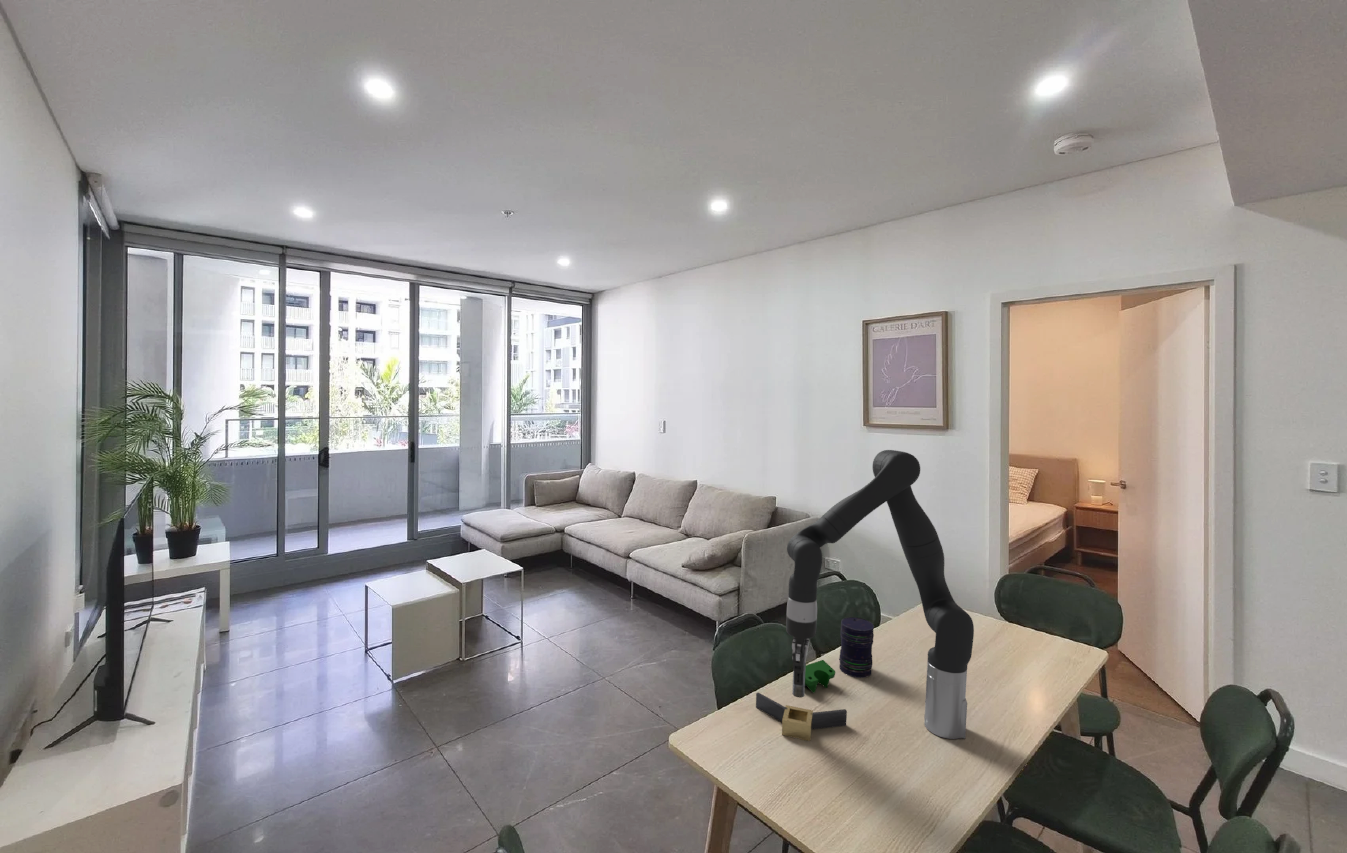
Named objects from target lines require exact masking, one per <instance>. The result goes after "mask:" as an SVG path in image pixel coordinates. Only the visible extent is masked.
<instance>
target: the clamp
mask: <svg viewBox="0 0 1347 853" xmlns="http://www.w3.org/2000/svg"><path fill="white" fill-rule="evenodd" d="M835 676H836V670H835V669H834V668H833V667H832V666H831V665H830V664H829V663H827V662H826V661H825V660H824V659H821V660H818V661H815V662H812V663H809V664H806V669H805V687H807V688H808V689H809V690H810V691H811V692H812V693H813V694H815V693H816V691H817V686H818V684H819V685H821V686H822V687H824V688H825V689H827V688H828V687H829V684H830V680H831V679H834V678H835Z"/></svg>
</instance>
